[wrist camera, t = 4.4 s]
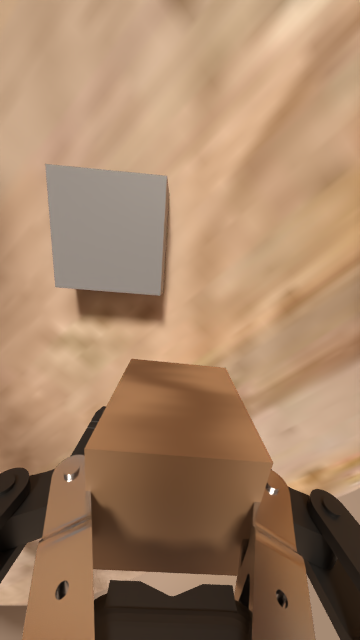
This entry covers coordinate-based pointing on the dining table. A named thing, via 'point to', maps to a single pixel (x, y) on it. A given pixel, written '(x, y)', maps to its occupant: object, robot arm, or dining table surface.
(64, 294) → the dining table surface
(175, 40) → the dining table surface
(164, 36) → the dining table surface
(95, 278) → the slate block
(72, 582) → the robot arm
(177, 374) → the walnut cube
